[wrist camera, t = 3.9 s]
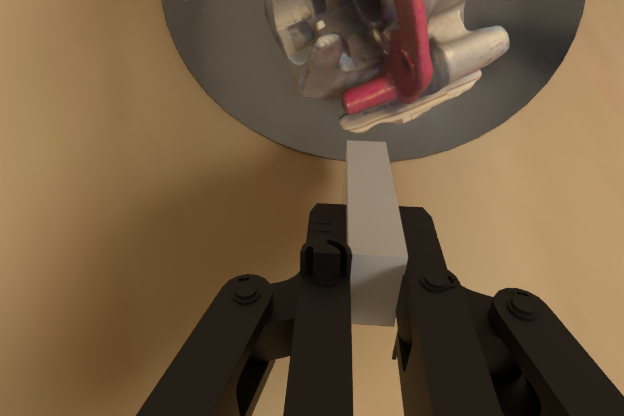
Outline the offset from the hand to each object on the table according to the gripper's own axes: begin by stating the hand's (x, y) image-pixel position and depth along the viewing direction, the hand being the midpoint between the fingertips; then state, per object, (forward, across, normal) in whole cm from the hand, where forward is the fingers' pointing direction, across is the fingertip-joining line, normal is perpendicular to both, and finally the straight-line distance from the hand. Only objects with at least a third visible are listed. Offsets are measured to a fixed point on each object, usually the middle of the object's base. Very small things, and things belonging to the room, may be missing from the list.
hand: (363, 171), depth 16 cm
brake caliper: (+9, 0, +3) cm, 10 cm away
